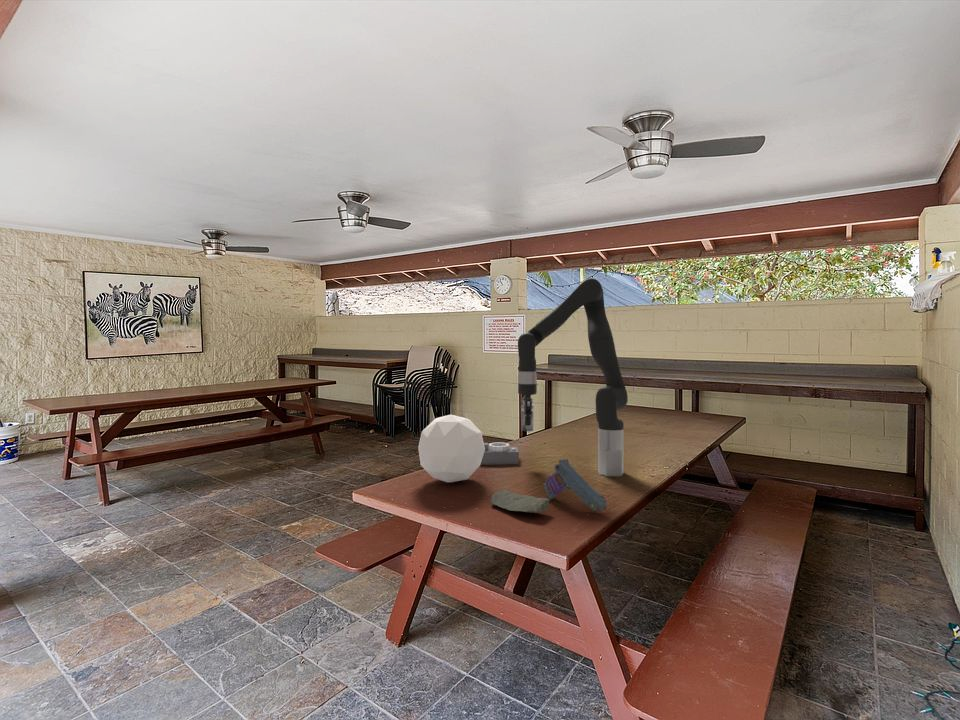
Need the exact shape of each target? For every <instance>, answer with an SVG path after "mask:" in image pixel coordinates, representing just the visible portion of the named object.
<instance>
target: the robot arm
mask: <svg viewBox="0 0 960 720" xmlns="http://www.w3.org/2000/svg"><path fill="white" fill-rule="evenodd" d="M582 307H583V308H584V310H585V315H586V320H587V321H586V322H587V339H588V344H589V350H590V354H591V356H592V358H593V360H594V362H595V363H596V364H597V366H598V368H599V369H600V370H601V373H602V374H603V377H604V380H605V384H606V385H605V386H603V387H600V388H599V389H598V390H597V392H596V394H595V417H596V422H597V424H598V429H597V430H598V437H597V438H598V440H597V441H598V442H597V443H598V446H597V447H598V450H597V451H598V452H597V454H598V456H597V461H598V462H597V463H598V465H597V466H598V467H597V468H598V474H600V475H601V476H604V477H623V475H624V424H625V423H624V421H623V420H621V419H619V417H618V413H617V412H618V411H619V410H623V409H624V408H626V406H627V405H628V400H629V399H628V391H627V388H626V386H625V382H624V380H623V376H622V373H621V370H620V369H621V367H620V365H619V361H618V355H617V352H616V347H615V346H616V345H615V342H614V336H613V333H612V330H611V327H610V323H609V321H608V318H607V314H606V308H605V298H604V289H603V286H602V284H601V282H600V281H598V279H596V278H591V277H589V278H586V279H584V280H583V281H581V282H580V284H578V286H577V287H576V288H575V289H574V290H573V291H572V292H571V293H570V294H569V295H568V296H567V298H565V299H564V300H563V301H562V302H561V303H560V304H558V305H557V306H556V307H555V308H554V309H553V310H551V311H550V312H549V313H548V314H546V315H545V316H544V317H543V318H541V319H540V320H539V321H538V322H537V323H536V324H535V326H533V327H531V329H529V330H528V331H526V332H525V333H522V334H521V335H519V337H518V340H517V354H518V375H517V376H518V377H517V393H518V394H519V395H522V396H523V397H522V402H521V403H522V405H523V410H524V411H525V425H526V426H530V425H531V414H532V405H533V398H532V397H531V396H533V395H537V392H538V382H537V380H538V379H537V377H538V375H537V359H536V347H537V346H539V344H541V343H542V342H543V341H544V340H545V339H546V338H548V337H550V336H551V335H552V334H553V333H555V332H556V331H558V330H559V328H561V327H562V326H564V324H565V323H566V322H567V320H568V319H570V318H571V316H573V314H574V313H575V312H577V311H578V310H579V309H580V308H582ZM527 410H529V411H530V412H527Z"/></svg>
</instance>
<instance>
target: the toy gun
mask: <svg viewBox="0 0 960 720" xmlns="http://www.w3.org/2000/svg"><path fill="white" fill-rule="evenodd" d="M554 469H555V472H554V473H552V474H551V475H549V476H548V477H547V479H546V480H545V483H542V487H543V489H544V490H545V492H546V494H547V496H548V499H549V500H552V499H555V498H556V496H558V495H560V493H562V491H564V489H566V490H568V491H569V490H571V491H572V492H574V493H576V496H577V497H579V499H580V500H581V501H583V503H584V504H585V505H586V506H587V507H589V508H590V509H591V510H592V511H593V512H594V511H596V510H597V511H598V512H600V511H601V510H605V509H607V507H608V506H607V505H606V504H607V503H608V501H607V500H606V498H605V497H604V496H605V494H600V492H598V491H597V490H595V488H593V487H592V486H591V484H589V482H588V481H587V480H585V478H584V477H582V475H580V474H579V473H578V472H577V471H576V470H575V468H574V467H573V466H572V465H571V464H570V462H569V459H568V458H565V459H564V458H563V459H562V458H561V459H559V460H558V463H556V465H554Z"/></svg>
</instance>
